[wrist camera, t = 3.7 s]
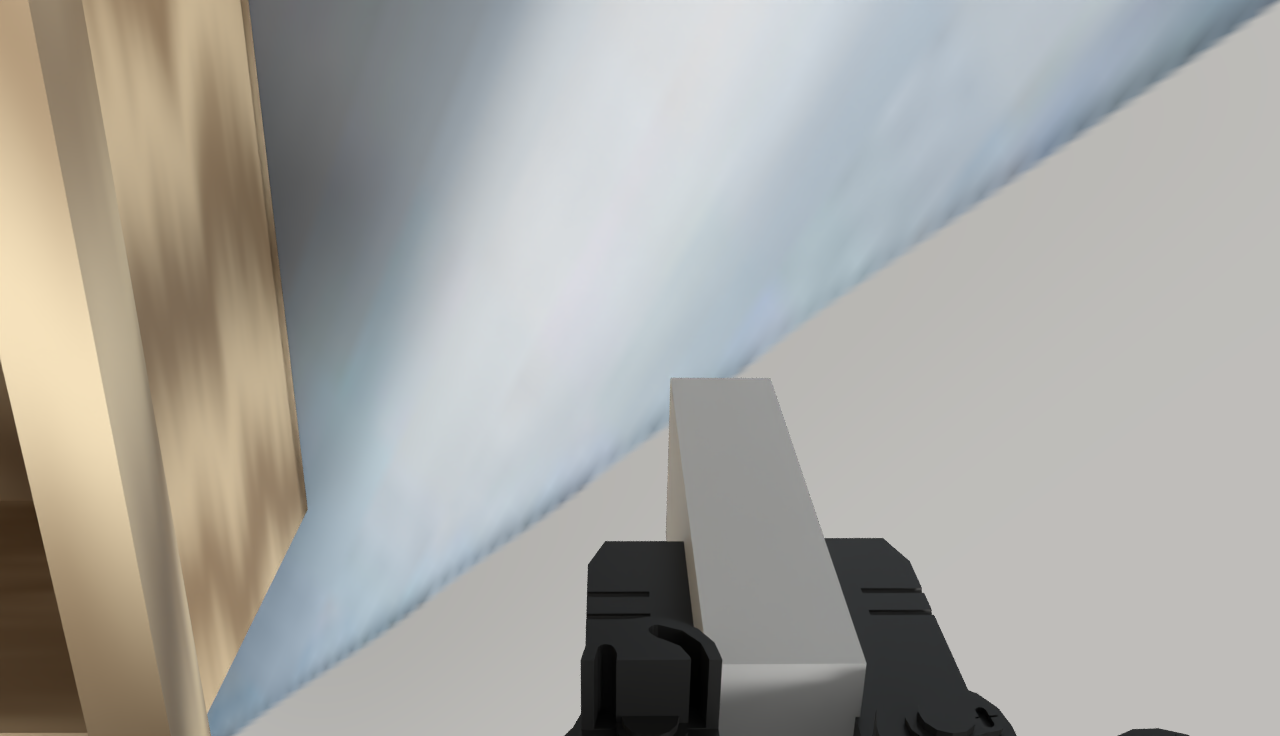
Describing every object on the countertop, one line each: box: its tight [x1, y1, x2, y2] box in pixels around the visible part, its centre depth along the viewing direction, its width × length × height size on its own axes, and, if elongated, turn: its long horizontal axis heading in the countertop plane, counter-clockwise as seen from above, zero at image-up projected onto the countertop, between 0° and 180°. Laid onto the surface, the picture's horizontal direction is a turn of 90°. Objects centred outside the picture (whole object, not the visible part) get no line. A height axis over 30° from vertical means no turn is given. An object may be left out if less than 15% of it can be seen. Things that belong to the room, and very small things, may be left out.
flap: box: [0, 0, 211, 736], centre depth 14 cm, size 17×11×1 cm
